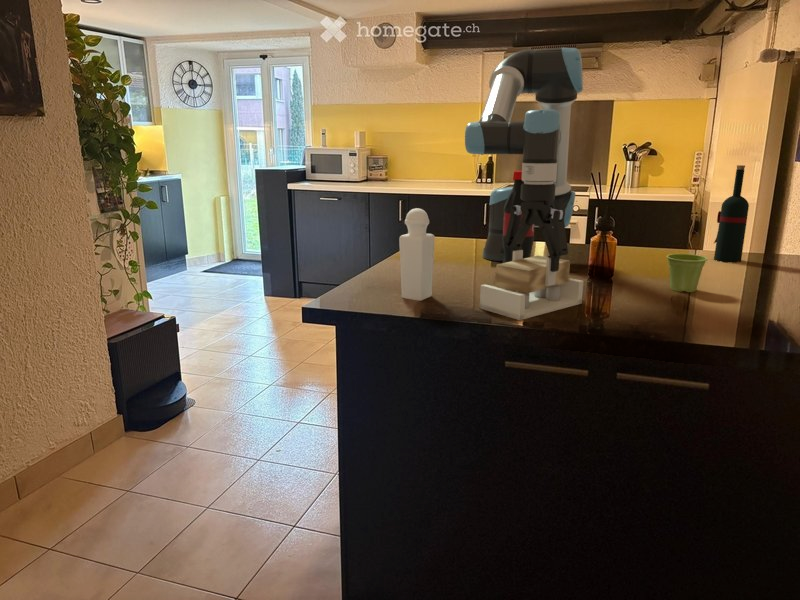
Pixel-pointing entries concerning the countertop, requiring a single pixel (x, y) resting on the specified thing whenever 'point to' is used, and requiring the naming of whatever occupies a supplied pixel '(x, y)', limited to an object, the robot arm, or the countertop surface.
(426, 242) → the white square bottle
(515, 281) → the wooden block
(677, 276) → the plant pot
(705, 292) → the countertop surface
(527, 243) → the cola bottle
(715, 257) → the wine bottle
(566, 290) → the cradle
